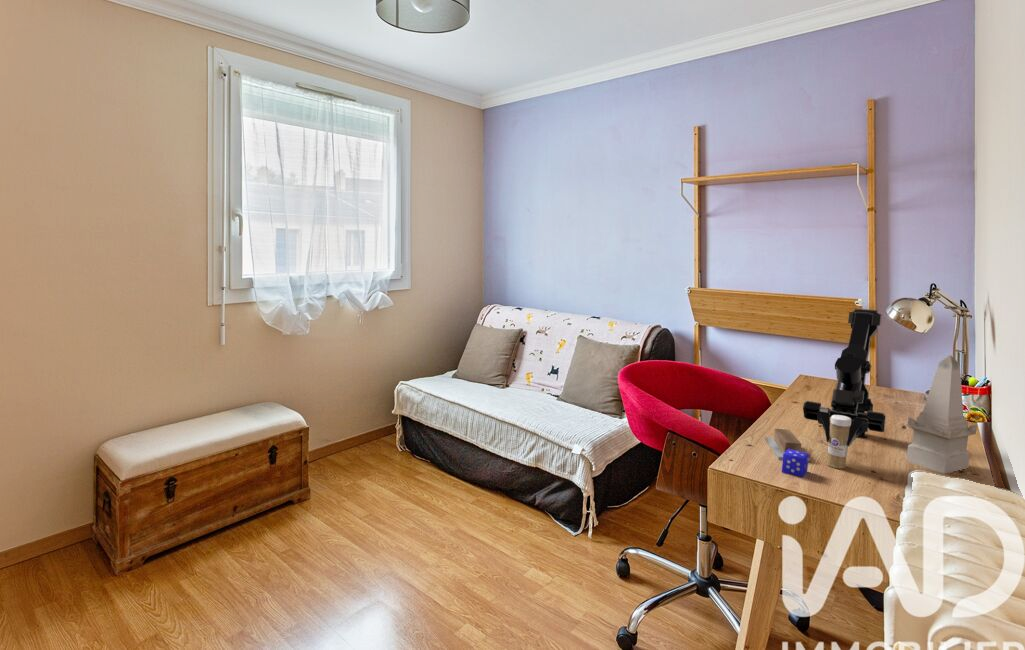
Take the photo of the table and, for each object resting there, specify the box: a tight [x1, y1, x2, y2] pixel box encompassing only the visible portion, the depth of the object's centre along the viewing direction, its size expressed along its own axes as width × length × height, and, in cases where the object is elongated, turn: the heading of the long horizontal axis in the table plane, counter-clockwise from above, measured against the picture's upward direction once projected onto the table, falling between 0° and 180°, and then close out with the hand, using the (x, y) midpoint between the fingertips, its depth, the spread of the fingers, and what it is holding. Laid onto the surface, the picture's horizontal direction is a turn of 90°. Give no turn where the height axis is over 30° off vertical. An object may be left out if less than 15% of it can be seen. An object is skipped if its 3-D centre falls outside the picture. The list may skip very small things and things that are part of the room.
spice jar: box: [826, 415, 851, 470], centre depth 144 cm, size 5×5×13 cm
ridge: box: [764, 428, 812, 463], centre depth 156 cm, size 8×16×4 cm, turn 168°
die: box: [781, 449, 810, 478], centre depth 141 cm, size 5×5×5 cm
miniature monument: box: [905, 354, 978, 475], centre depth 145 cm, size 10×10×30 cm
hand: (837, 443), depth 143 cm, fingers closed on spice jar, 4 cm apart
